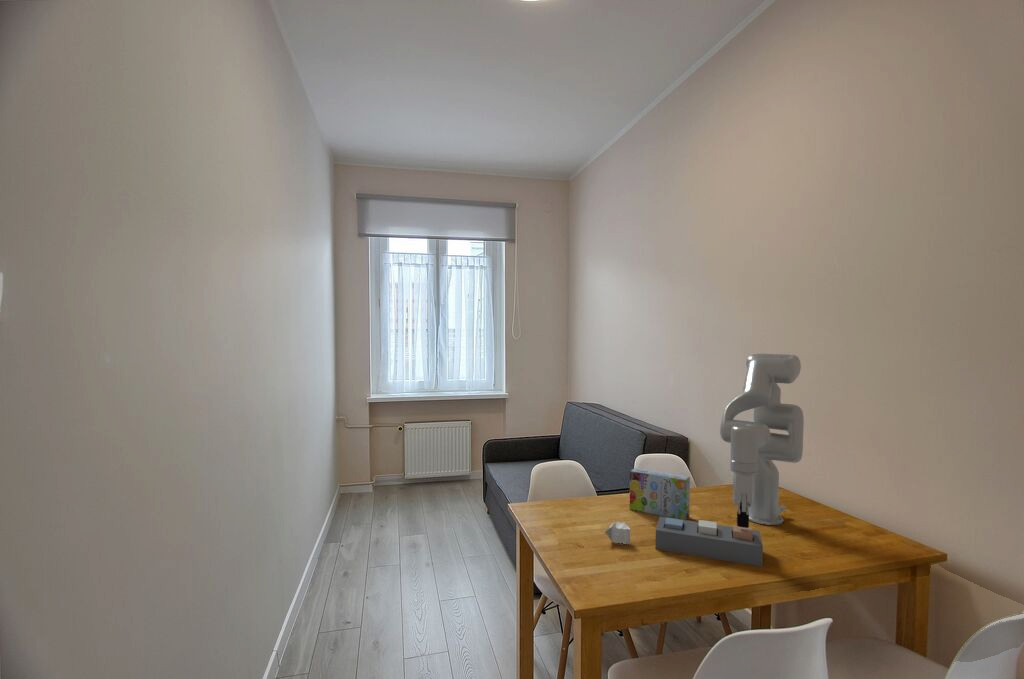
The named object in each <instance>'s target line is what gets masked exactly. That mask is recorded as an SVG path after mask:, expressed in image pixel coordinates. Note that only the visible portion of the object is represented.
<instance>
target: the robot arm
mask: <svg viewBox="0 0 1024 679" xmlns="http://www.w3.org/2000/svg"><path fill="white" fill-rule="evenodd" d="M745 363H746V373H745V378H744V383H743V384H744V385H743V388H742V393H741V394H739V395H738V396H736V397H734V398H733V399H732V400H731V401H730V402H729V403H728V404H727V405H726V407H725V409H723V414H722V418H721V423H720V428H719V430H720V431H719V435H720V438H721V440H723V442H725V443H728V444H730V467H729V468H730V469H729V470H730V472H733V478H732V481H733V482H732V502H733V505H734V506H735V507H737V511H736V525H737V526H738V527H745V528H749V527H750V526H749V525H750V522H753V523H755V524H761V525H764V524H765V526H778V525H781V524H783V523H784V518H783V516H781V513H782V512H785V511H787V507H786V506H785V505H780V506H779V502H780V501H779V499H780V497H779V496H780V495H779V493H780V491H779V490H780V488H779V487H780V485H779V484H780V472H779V470H778V467H777V466H776V465H775V463H774V462H773V461H778V462H783V463H784V462H785V463H793V464H796V463H799V462H800V461H801V460H802V458H803V452H804V450H803V448H804V428H805V427H804V425H805V424H804V422H805V421H804V412H803V409H802V408H801V407H800V406H799V405H797V404H791V403H782V402H781V395H782V391H781V387H780V385H778V384H789V385H790V384H792V383H794V382H795V381H796V379H798V377H799V376H800V373H801V368H802V365H801V360H800V358H799V357H798V356H797V355H796V354H779V353H752V354H750V355H748V356H747V357H746V362H745ZM752 409H753V421H748V420H747V421H746V420H740V419H739V420H738V419H735V418H736V417H737V416H738V415H740V414H741V413H742V412H746V411H750V410H752ZM771 430H777V431H785V432H787V433H788V434H783V433H776V432H771Z"/></svg>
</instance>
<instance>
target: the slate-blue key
mask: <svg viewBox="0 0 1024 679" xmlns="http://www.w3.org/2000/svg"><path fill="white" fill-rule="evenodd" d="M665 528H670V529H677V530H683V520H679V519H672V518H670V517H667V518H666V521H665Z"/></svg>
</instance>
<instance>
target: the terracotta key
mask: <svg viewBox="0 0 1024 679" xmlns="http://www.w3.org/2000/svg"><path fill="white" fill-rule="evenodd" d="M732 527H733V538H736V539H743V540H749V541H753V532H752V530H753V527H751V526H749V528H745V527H738V526H737V524H733V525H732Z"/></svg>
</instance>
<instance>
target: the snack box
mask: <svg viewBox="0 0 1024 679" xmlns="http://www.w3.org/2000/svg"><path fill="white" fill-rule="evenodd" d="M690 481H691V477H690V476H687V475H682V474H681V475H680V474H676V473H675V474H674V473H670V472H669V473H668V472H661V471H656V470H655V471H654V470H651V469H650V470H648V469H642V468H636V467H635V468H632V469H631V470H630V472H629V510H630V509H633V510H632V511H635V510H637V512H640V511H641V513H645V512H646V514H650V515H651V514H652V515H655V516H659V517H667V518H674V519H681V520H688V519H689V518H690V496H691V495H690V494H691V493H690V491H691V490H690V489H691V488H690V485H691V482H690Z"/></svg>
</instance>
